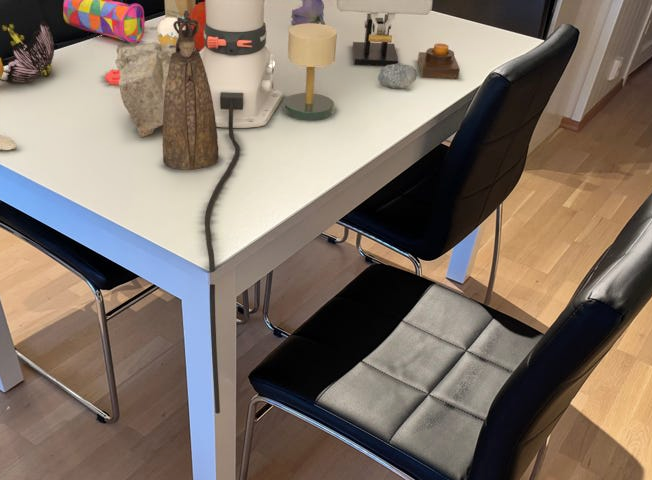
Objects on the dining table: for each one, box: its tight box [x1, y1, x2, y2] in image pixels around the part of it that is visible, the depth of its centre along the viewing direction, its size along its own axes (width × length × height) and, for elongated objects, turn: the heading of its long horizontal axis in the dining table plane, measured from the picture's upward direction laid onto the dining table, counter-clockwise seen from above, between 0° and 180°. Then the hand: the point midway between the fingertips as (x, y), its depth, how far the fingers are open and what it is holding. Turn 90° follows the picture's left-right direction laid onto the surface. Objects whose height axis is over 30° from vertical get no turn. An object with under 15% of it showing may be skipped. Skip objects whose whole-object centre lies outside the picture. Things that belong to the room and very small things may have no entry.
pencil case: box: [62, 0, 146, 44], centre depth 164 cm, size 22×9×9 cm
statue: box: [162, 11, 220, 170], centre depth 110 cm, size 9×8×25 cm
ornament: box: [156, 16, 186, 46], centre depth 158 cm, size 7×7×8 cm
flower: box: [290, 0, 326, 26], centre depth 172 cm, size 9×9×10 cm
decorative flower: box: [0, 20, 55, 85], centre depth 141 cm, size 15×12×15 cm
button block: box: [417, 47, 461, 80], centre depth 154 cm, size 10×8×4 cm
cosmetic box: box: [164, 0, 197, 27], centre depth 161 cm, size 6×4×12 cm
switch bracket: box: [352, 12, 399, 67], centre depth 158 cm, size 12×10×9 cm
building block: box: [105, 69, 120, 87], centre depth 146 cm, size 1×8×8 cm
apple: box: [189, 1, 206, 52], centre depth 157 cm, size 11×11×11 cm
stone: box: [114, 41, 176, 138], centre depth 126 cm, size 13×17×15 cm
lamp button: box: [433, 42, 450, 55], centre depth 153 cm, size 3×3×2 cm
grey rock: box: [377, 62, 418, 89], centre depth 146 cm, size 8×4×5 cm, turn 89°
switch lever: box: [369, 17, 393, 44], centre depth 153 cm, size 11×5×2 cm, turn 178°
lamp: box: [283, 23, 338, 121], centre depth 132 cm, size 10×10×15 cm
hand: (380, 33), depth 150 cm, fingers closed, pressing on switch lever
